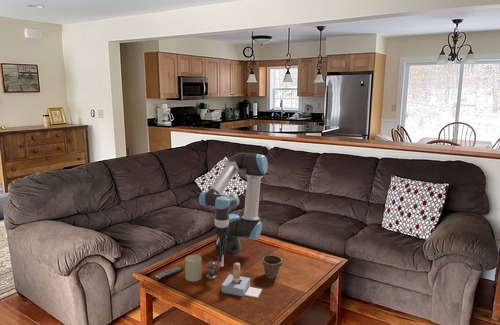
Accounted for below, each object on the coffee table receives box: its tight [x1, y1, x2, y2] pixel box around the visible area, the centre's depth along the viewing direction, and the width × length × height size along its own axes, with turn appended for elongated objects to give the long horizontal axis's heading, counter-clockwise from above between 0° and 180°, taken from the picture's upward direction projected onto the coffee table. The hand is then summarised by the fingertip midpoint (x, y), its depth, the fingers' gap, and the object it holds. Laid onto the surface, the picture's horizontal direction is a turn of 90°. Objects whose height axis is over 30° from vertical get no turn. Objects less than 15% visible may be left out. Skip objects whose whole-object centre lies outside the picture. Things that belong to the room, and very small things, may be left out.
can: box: [184, 254, 203, 282], centre depth 208 cm, size 9×9×12 cm
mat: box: [244, 286, 263, 299], centre depth 196 cm, size 8×7×1 cm
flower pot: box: [261, 254, 283, 279], centre depth 213 cm, size 12×11×10 cm
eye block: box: [221, 273, 251, 297], centre depth 199 cm, size 12×12×4 cm
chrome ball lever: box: [207, 260, 220, 272], centre depth 206 cm, size 4×10×6 cm, turn 31°
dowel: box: [232, 262, 241, 285], centre depth 198 cm, size 4×4×14 cm
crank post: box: [205, 267, 218, 280], centre depth 210 cm, size 6×6×6 cm
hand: (220, 265), depth 204 cm, fingers closed
